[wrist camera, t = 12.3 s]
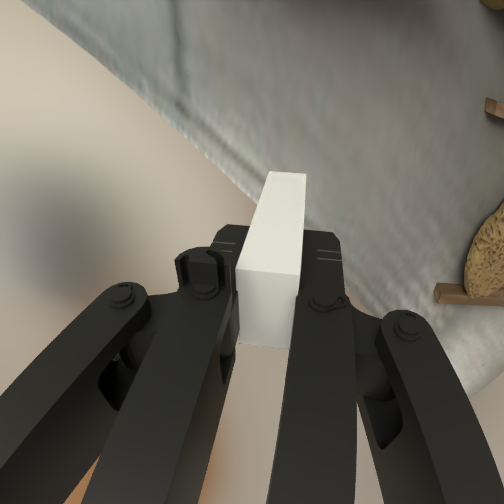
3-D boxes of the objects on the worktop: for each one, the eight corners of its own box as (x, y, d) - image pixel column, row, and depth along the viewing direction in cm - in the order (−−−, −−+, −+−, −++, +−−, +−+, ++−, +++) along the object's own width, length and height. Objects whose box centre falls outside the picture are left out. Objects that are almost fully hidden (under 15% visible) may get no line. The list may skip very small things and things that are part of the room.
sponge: (509, 168, 36) (437, 261, 43) (543, 188, 29) (465, 291, 36) (529, 214, 41) (466, 293, 48) (556, 234, 34) (489, 320, 41)
